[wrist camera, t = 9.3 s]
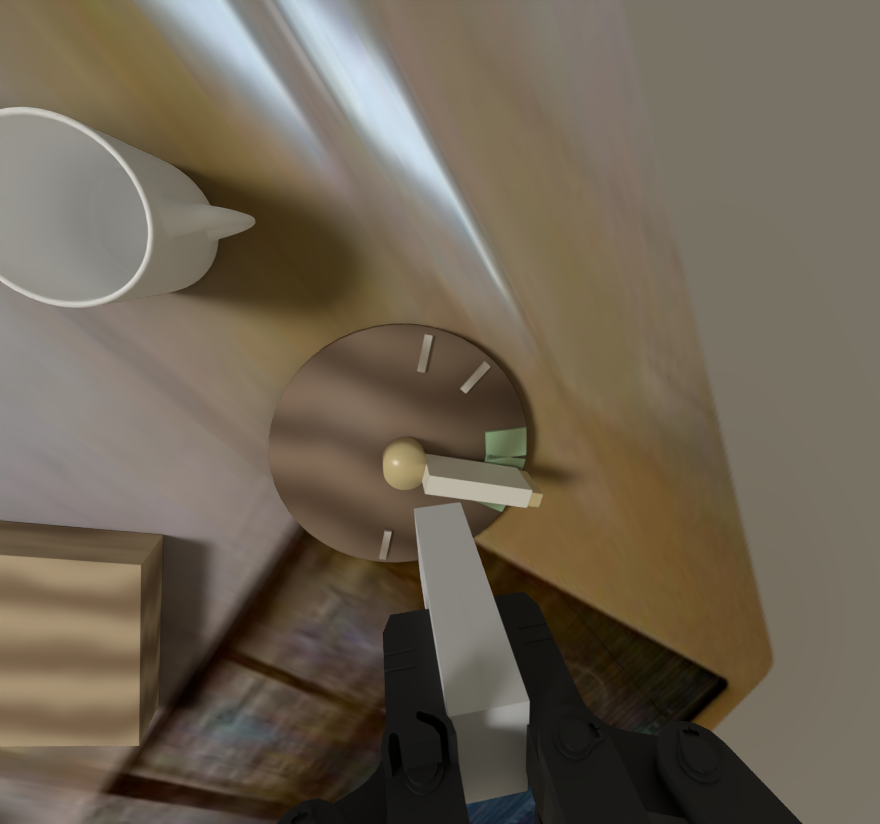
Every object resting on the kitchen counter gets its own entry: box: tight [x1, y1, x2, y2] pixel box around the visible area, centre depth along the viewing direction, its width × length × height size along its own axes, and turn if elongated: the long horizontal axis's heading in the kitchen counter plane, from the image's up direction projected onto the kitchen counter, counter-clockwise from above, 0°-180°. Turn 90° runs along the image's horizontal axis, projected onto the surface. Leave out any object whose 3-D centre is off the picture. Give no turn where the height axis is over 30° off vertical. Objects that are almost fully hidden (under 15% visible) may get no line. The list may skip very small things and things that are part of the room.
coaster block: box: [0, 521, 163, 746], centre depth 37 cm, size 20×20×4 cm
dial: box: [269, 324, 527, 562], centre depth 38 cm, size 22×22×2 cm
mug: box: [0, 107, 255, 308], centre depth 26 cm, size 9×12×11 cm
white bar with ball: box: [383, 437, 543, 508], centre depth 36 cm, size 13×4×4 cm, turn 76°
